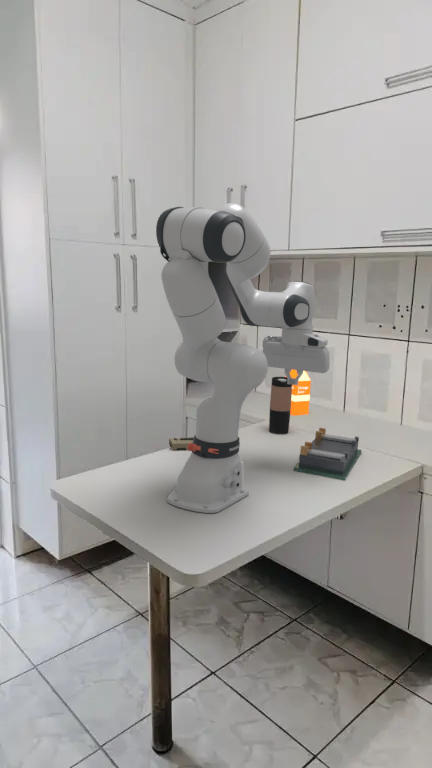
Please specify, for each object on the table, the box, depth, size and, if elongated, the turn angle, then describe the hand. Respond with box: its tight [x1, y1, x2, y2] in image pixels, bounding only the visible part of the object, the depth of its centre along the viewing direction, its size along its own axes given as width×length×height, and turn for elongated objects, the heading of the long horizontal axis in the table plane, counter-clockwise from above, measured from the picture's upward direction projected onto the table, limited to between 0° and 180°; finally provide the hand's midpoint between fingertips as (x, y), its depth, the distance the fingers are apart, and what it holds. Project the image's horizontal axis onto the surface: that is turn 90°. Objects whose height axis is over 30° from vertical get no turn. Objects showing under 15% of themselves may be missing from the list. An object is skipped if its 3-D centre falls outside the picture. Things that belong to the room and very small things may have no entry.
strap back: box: [322, 433, 356, 443], centre depth 170 cm, size 3×12×1 cm, turn 65°
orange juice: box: [284, 369, 312, 417], centre depth 221 cm, size 8×9×20 cm
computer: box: [168, 436, 194, 451], centre depth 172 cm, size 16×8×3 cm, turn 101°
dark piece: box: [292, 427, 362, 481], centre depth 162 cm, size 28×15×7 cm, turn 155°
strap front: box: [308, 449, 346, 459], centre depth 154 cm, size 3×12×1 cm, turn 65°
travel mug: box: [268, 376, 292, 435], centre depth 191 cm, size 8×8×20 cm
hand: (292, 384), depth 155 cm, fingers closed
